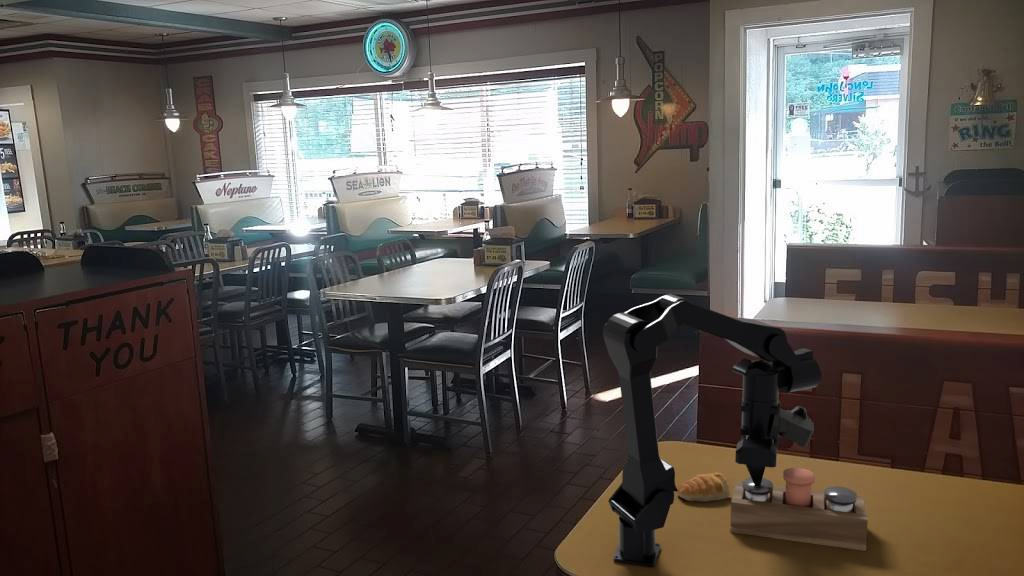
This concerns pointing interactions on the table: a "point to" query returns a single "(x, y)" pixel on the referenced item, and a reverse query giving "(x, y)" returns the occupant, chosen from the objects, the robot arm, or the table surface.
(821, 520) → the brown wooden rack
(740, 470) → the table surface
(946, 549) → the table surface
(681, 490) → the pastry
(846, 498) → the plunger
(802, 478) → the pink stopper
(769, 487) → the plunger
